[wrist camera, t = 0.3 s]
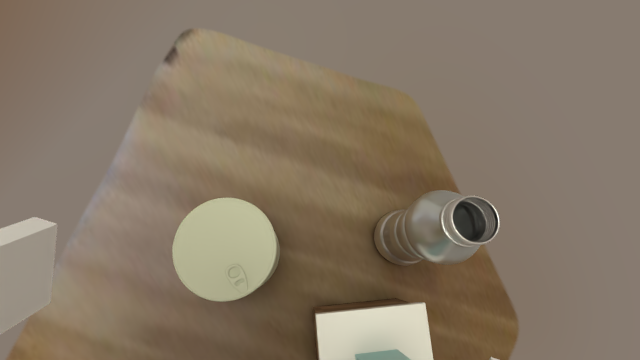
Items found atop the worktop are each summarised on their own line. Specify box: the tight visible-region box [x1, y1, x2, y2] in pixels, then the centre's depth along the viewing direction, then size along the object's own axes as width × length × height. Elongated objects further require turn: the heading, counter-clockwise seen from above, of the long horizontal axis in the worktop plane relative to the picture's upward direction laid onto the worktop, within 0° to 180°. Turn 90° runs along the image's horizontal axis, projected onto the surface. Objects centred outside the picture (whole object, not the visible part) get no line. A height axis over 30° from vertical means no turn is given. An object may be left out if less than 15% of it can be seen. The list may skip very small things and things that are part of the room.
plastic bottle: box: [374, 190, 500, 266], centre depth 36 cm, size 6×7×20 cm
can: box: [172, 198, 280, 302], centre depth 38 cm, size 9×9×12 cm
